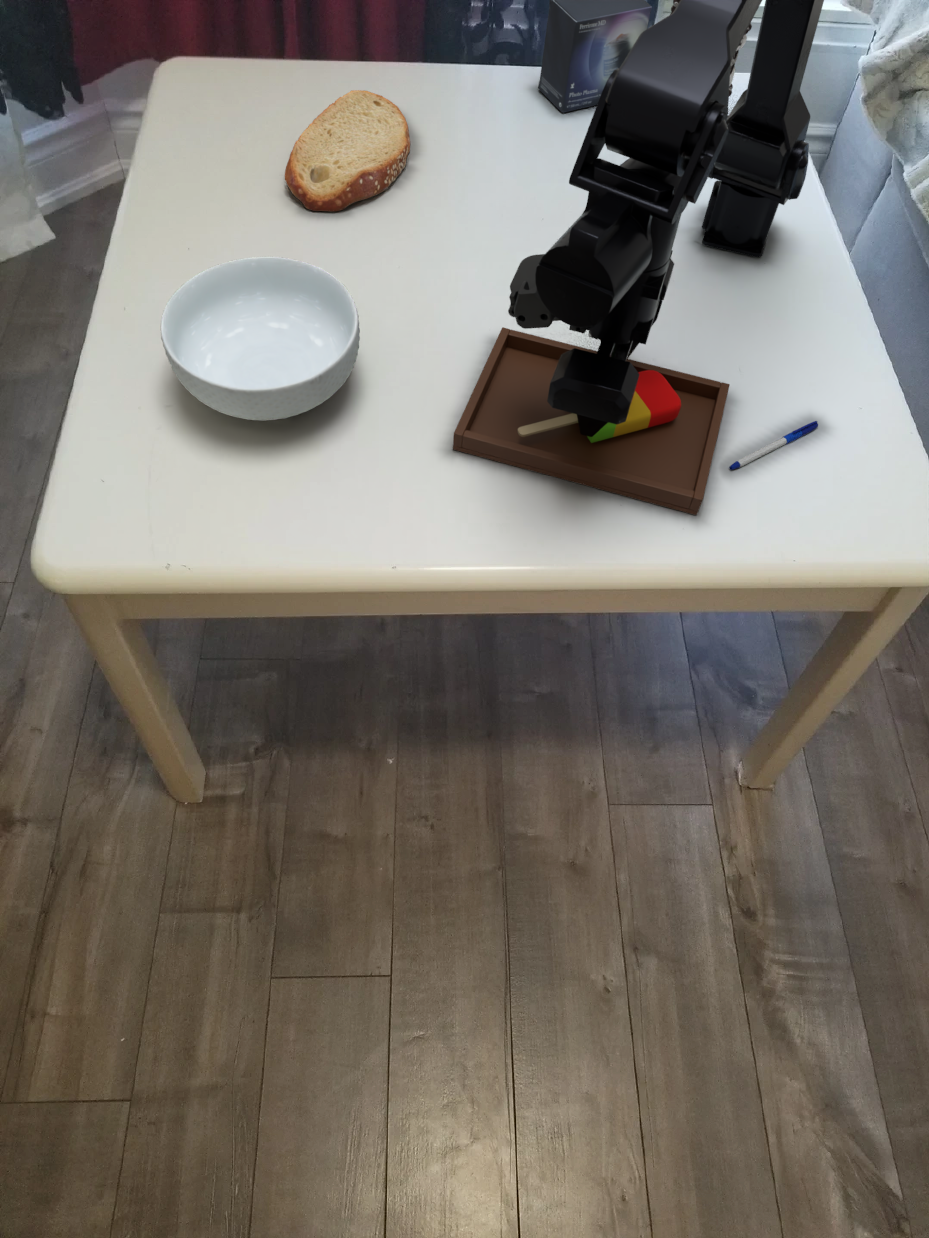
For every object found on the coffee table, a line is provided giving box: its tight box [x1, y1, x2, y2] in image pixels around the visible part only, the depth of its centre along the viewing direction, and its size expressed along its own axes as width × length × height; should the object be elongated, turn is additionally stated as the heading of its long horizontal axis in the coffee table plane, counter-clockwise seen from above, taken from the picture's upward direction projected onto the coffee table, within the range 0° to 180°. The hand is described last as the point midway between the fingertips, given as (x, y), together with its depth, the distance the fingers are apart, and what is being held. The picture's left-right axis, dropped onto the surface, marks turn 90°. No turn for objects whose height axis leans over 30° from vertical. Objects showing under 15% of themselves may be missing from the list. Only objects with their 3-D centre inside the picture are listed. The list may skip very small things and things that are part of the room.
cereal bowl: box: [160, 256, 361, 422], centre depth 80 cm, size 17×17×7 cm
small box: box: [537, 0, 653, 113], centre depth 109 cm, size 11×6×10 cm, turn 118°
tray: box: [452, 327, 730, 516], centre depth 81 cm, size 22×15×2 cm
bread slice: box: [284, 89, 411, 212], centre depth 102 cm, size 18×18×4 cm
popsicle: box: [518, 370, 681, 443], centre depth 80 cm, size 6×15×2 cm, turn 112°
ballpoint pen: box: [728, 420, 819, 471], centre depth 81 cm, size 10×1×1 cm, turn 124°
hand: (596, 405), depth 80 cm, fingers closed on popsicle, 7 cm apart
